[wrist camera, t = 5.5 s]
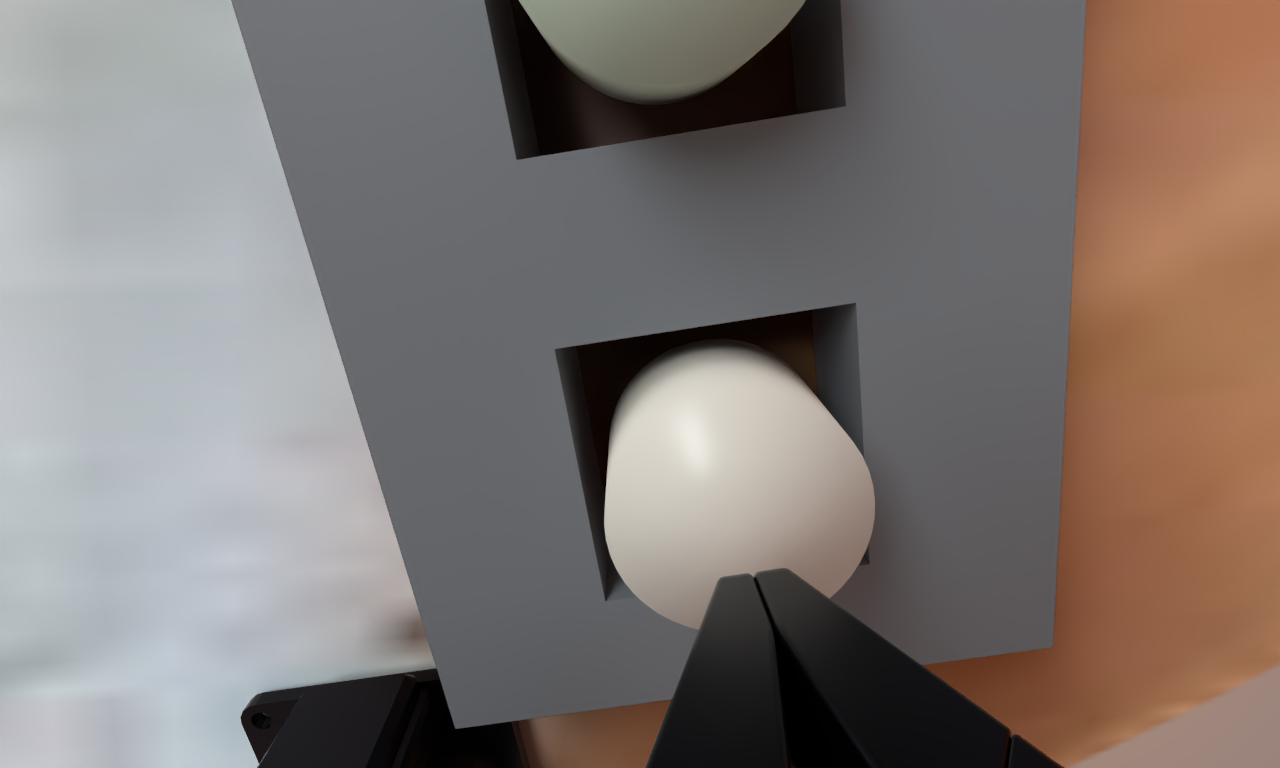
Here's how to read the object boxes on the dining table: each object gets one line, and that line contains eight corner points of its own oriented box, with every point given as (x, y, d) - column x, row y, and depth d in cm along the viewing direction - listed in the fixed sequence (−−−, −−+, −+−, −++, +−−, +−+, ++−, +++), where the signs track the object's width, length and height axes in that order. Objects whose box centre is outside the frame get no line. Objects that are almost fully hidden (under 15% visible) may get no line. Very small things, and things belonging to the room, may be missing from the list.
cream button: (826, 517, 13) (880, 614, 10) (627, 546, 13) (627, 650, 11) (811, 323, 12) (868, 372, 9) (592, 356, 12) (581, 415, 9)
